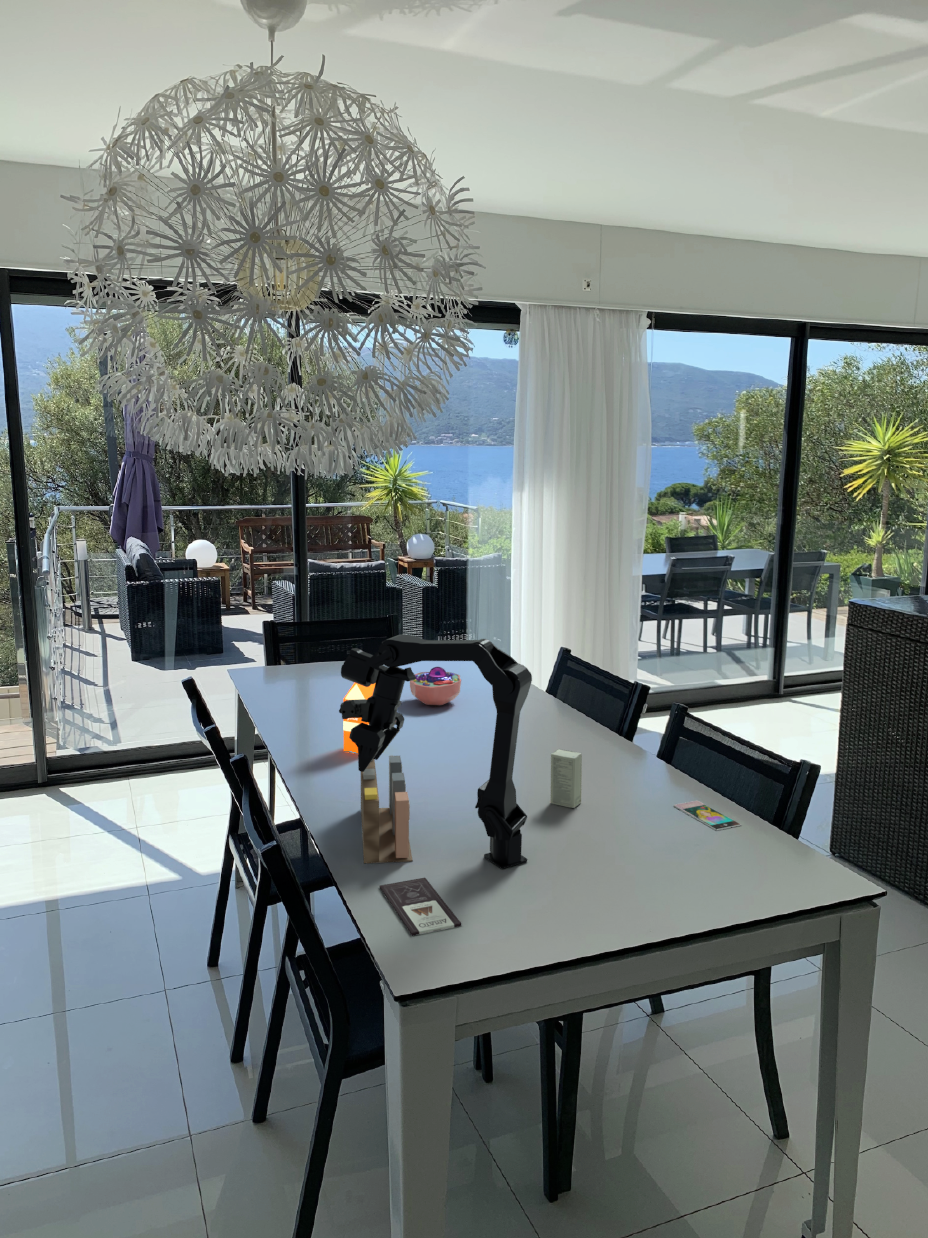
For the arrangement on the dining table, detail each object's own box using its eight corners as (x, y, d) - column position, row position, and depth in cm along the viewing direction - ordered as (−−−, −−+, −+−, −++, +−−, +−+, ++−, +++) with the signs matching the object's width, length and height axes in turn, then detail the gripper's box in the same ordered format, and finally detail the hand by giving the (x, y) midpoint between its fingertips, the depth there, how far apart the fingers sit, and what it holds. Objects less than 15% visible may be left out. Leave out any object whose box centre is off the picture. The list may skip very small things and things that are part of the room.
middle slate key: (404, 825, 194) (404, 772, 192) (405, 834, 190) (406, 780, 188) (391, 826, 194) (391, 773, 192) (392, 835, 190) (393, 780, 187)
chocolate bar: (425, 877, 172) (461, 923, 155) (425, 882, 172) (461, 928, 155) (379, 885, 168) (411, 933, 152) (379, 890, 168) (411, 938, 152)
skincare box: (581, 803, 210) (583, 753, 208) (573, 809, 207) (575, 758, 204) (556, 797, 214) (558, 748, 211) (548, 803, 210) (550, 753, 208)
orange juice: (384, 746, 248) (384, 675, 244) (368, 756, 240) (367, 683, 236) (360, 742, 251) (359, 672, 248) (342, 751, 243) (342, 679, 240)
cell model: (399, 709, 284) (399, 674, 282) (421, 693, 303) (421, 660, 301) (450, 714, 279) (451, 678, 277) (469, 697, 298) (470, 664, 296)
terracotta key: (408, 847, 184) (408, 791, 181) (409, 857, 179) (410, 800, 177) (394, 848, 183) (394, 792, 181) (396, 858, 179) (396, 800, 177)
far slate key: (400, 806, 205) (401, 755, 203) (402, 813, 201) (402, 762, 198) (388, 806, 205) (389, 755, 203) (390, 814, 200) (390, 762, 198)
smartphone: (716, 829, 196) (672, 804, 209) (716, 833, 196) (672, 807, 209) (741, 824, 199) (697, 800, 212) (741, 827, 199) (697, 803, 212)
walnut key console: (403, 808, 206) (403, 749, 203) (412, 861, 179) (412, 794, 177) (360, 810, 204) (360, 750, 202) (363, 863, 178) (363, 796, 175)
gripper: (364, 674, 196) (347, 741, 198) (334, 691, 177) (316, 764, 180) (412, 690, 194) (394, 757, 196) (387, 708, 176) (367, 782, 178)
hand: (368, 765), depth 188 cm, fingers open, 9 cm apart
